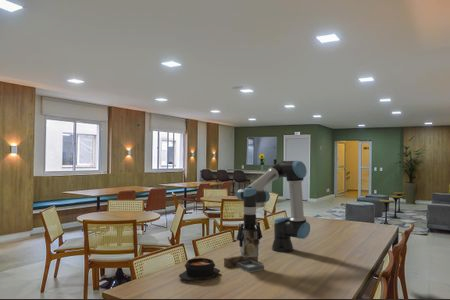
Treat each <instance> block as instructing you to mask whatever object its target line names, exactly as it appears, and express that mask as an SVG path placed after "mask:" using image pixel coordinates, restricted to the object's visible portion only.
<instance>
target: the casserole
mask: <svg viewBox="0 0 450 300" xmlns="http://www.w3.org/2000/svg"><path fill="white" fill-rule="evenodd" d="M184 268H185V269H186V270H185V271H183V272H182V273H180V274H178V277H179V278H180V279H182V280H186V281H202V280H207V279H211V278H213V277H215V276H217V275H218V274H219V273H220V272H221V270H220V269H219V268H217V267H216V264H215V263H214V260H213V259H210V258H207V257H206V258H205V257H195V258H191V259H188V260H186V263H185V264H184Z"/></svg>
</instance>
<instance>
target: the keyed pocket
mask: <svg viewBox="0 0 450 300" xmlns="http://www.w3.org/2000/svg"><path fill="white" fill-rule="evenodd" d="M235 267H237V269H241V270H243V271H244V272H247V273H253V272H257V271H263V270H265V265H264V264H262V263H260V262H255V261H252V260H247V261H241V262H236V266H235Z"/></svg>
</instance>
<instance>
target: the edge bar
mask: <svg viewBox="0 0 450 300" xmlns="http://www.w3.org/2000/svg"><path fill="white" fill-rule="evenodd" d="M247 260H252V261H255V262H257V263H259V256H258V257H245V258H244V257H243V256H242V255H241V254H240V255H236V256H231V257H224V258H223V267H224V268H231V267H236V262H241V261H247Z"/></svg>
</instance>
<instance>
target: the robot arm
mask: <svg viewBox="0 0 450 300" xmlns="http://www.w3.org/2000/svg"><path fill="white" fill-rule="evenodd" d="M307 172H308V171H307V166H306V165H305V163H304V162H303V161H301V160H281V161H279V162H276V163H275V164H273V165H271V166H270V167H269V168H268V169H267V171H266V172H265V173H263V174H261V176H259V178H256V179H255V180H254V181H253V182H252V183H250V184H249V185H247V187H245V188H240V189H238V190H237V192H236V197H237V200H239V201H243V222H242V223H241V222H240V223H239V224H238V225H239V226H238V227H239V228H238V231H237V235H236V240H237V241H239V247H240V253H241V252H243V253H244V241H243V239H244V233H243V232H242V231H243V229H244V230H249V229H258V251H259V250H260V249H259V246H260V240H261V239H262V238H263V234H262V229H261V222H260V221H257V204H261V203H263V204H264V203H268V202H269V201H270V198H271V194H270V192H269V191H268V190H263V189H264V188H266V187H267V186H269V184H271V183H272V182H273V181H276V180H279V178H286V182H287V183H288V185H289V200H290V201H289V203H290V204H289V205H290V215H291V216H290V217H289V216H287V217H286V216H285V217H284V216H282V217H276V218H275V219H274V222H273V223H274V224H273V225H274V226H273V227H274V233H273V234H274V239H273V242H272V244H271V249H272V251H276V252H280V253H286V252H287V253H288V252H292V251H294V246H293V243H292V240H291V239H292V238H295V239H299V240H300V239H303V240H305V239H306V238H308V237H309V235H310V232H311V224H310V223H309V222H308V221H307V218H306V216H305V215H304V202H303V201H304V200H303V199H304V198H303V185H302V182H304V179H305V178H306V176H307Z"/></svg>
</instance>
